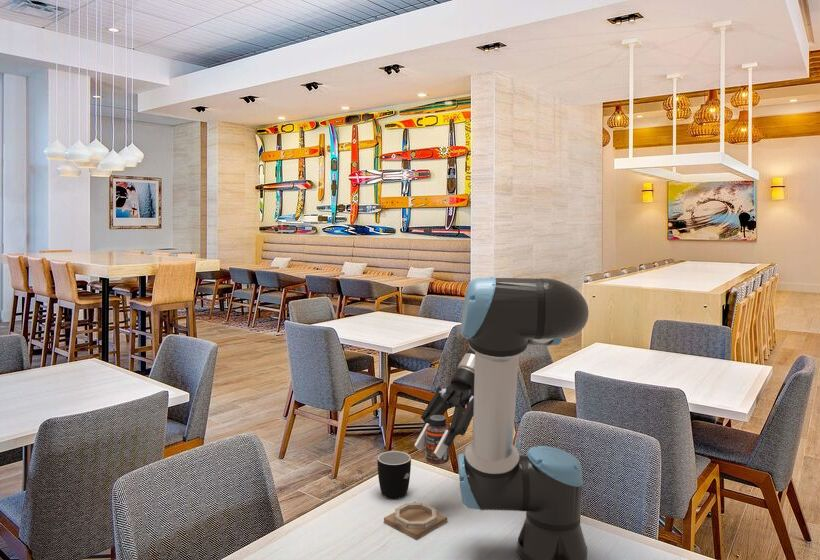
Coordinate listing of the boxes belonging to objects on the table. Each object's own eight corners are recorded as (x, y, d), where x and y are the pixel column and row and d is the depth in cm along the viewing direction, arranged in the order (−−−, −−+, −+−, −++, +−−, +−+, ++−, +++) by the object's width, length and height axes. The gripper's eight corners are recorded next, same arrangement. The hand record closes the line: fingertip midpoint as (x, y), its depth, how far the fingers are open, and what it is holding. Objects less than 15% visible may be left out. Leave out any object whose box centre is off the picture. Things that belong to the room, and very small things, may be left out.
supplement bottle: (422, 463, 146) (421, 419, 145) (430, 454, 152) (430, 412, 151) (444, 467, 144) (444, 422, 143) (452, 458, 149) (452, 415, 148)
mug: (407, 503, 152) (407, 466, 151) (373, 499, 154) (373, 463, 153) (415, 482, 164) (415, 447, 163) (384, 479, 165) (384, 445, 164)
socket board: (447, 521, 143) (447, 512, 143) (416, 539, 135) (416, 530, 135) (414, 506, 150) (414, 497, 150) (383, 522, 142) (383, 513, 142)
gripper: (504, 390, 150) (463, 470, 140) (449, 375, 163) (408, 448, 154) (492, 373, 146) (449, 455, 136) (436, 360, 159) (393, 434, 149)
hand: (427, 451), depth 145 cm, fingers closed on supplement bottle, 6 cm apart
